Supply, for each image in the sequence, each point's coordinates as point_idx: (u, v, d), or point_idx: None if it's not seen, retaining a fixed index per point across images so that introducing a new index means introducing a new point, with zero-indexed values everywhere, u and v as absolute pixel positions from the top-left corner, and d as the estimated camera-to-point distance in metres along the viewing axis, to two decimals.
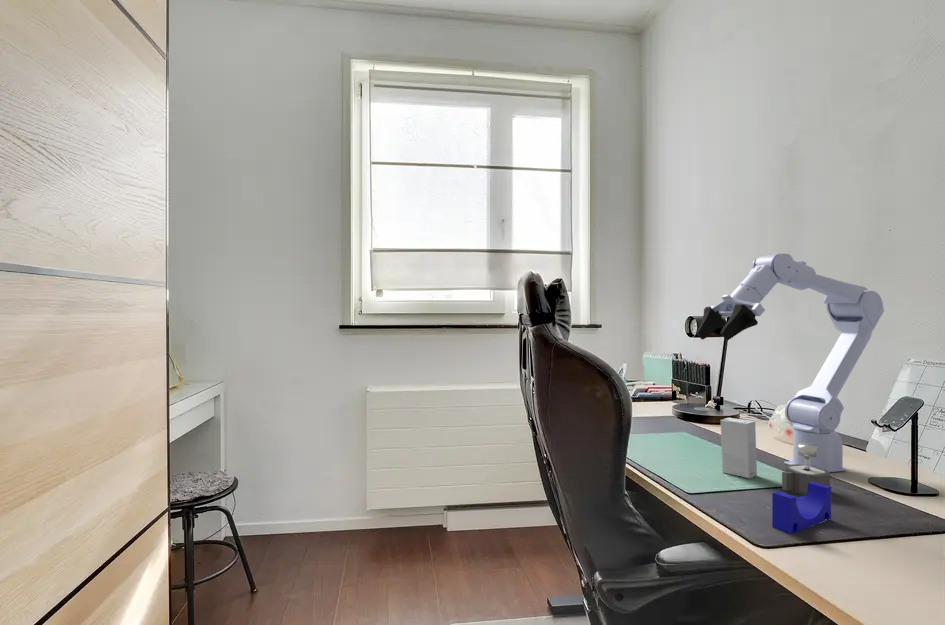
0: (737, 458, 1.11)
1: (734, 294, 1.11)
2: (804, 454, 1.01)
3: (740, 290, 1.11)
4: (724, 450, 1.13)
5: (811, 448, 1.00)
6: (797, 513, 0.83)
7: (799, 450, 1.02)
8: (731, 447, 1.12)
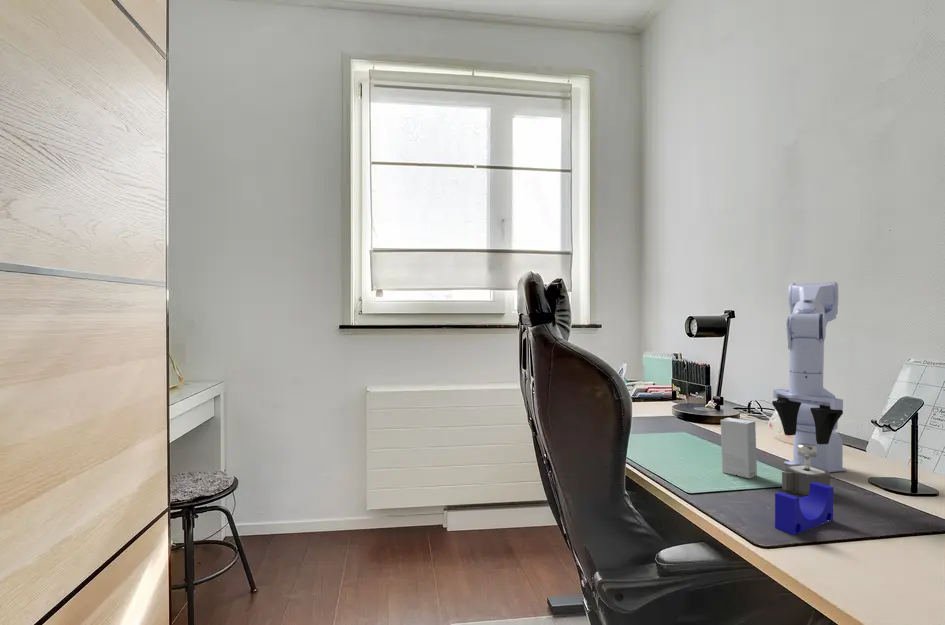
0: (737, 458, 1.11)
1: (796, 387, 1.01)
2: (804, 454, 1.01)
3: (799, 381, 1.01)
4: (724, 450, 1.13)
5: (811, 448, 1.00)
6: (800, 514, 0.82)
7: (799, 450, 1.02)
8: (731, 447, 1.12)
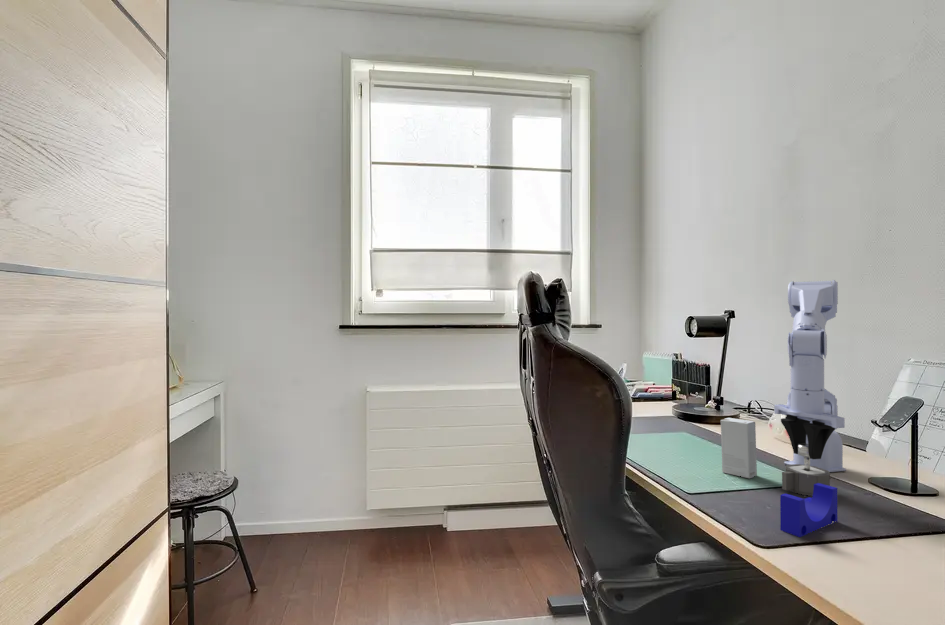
0: (737, 458, 1.11)
1: (797, 404, 1.01)
2: (804, 454, 1.01)
3: (800, 398, 1.00)
4: (724, 450, 1.13)
5: None
6: (805, 515, 0.82)
7: (799, 450, 1.02)
8: (731, 447, 1.12)
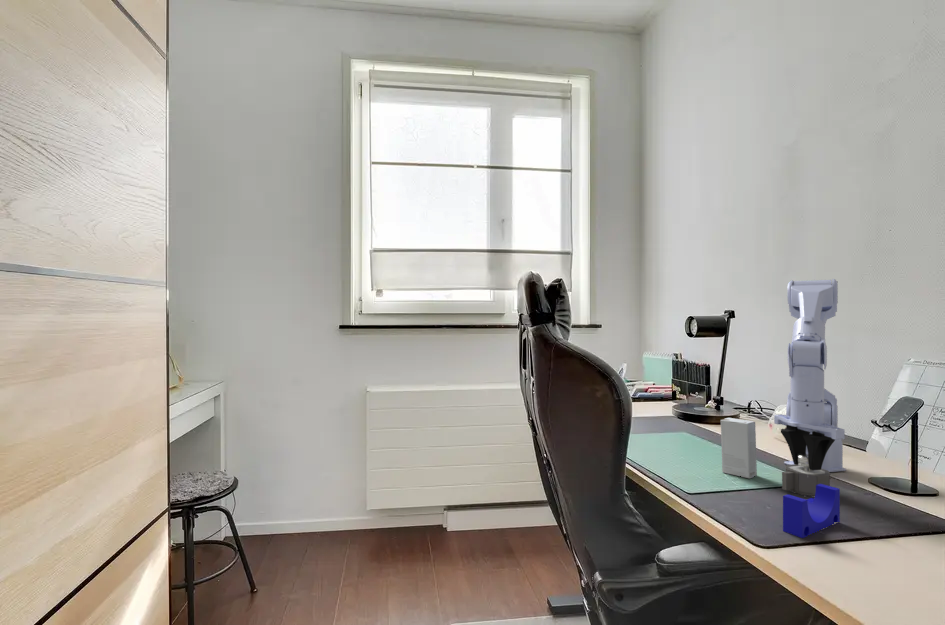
0: (737, 458, 1.11)
1: (797, 415, 1.01)
2: (804, 465, 1.01)
3: (800, 409, 1.00)
4: (724, 450, 1.13)
5: None
6: (808, 516, 0.81)
7: (799, 461, 1.02)
8: (731, 447, 1.12)
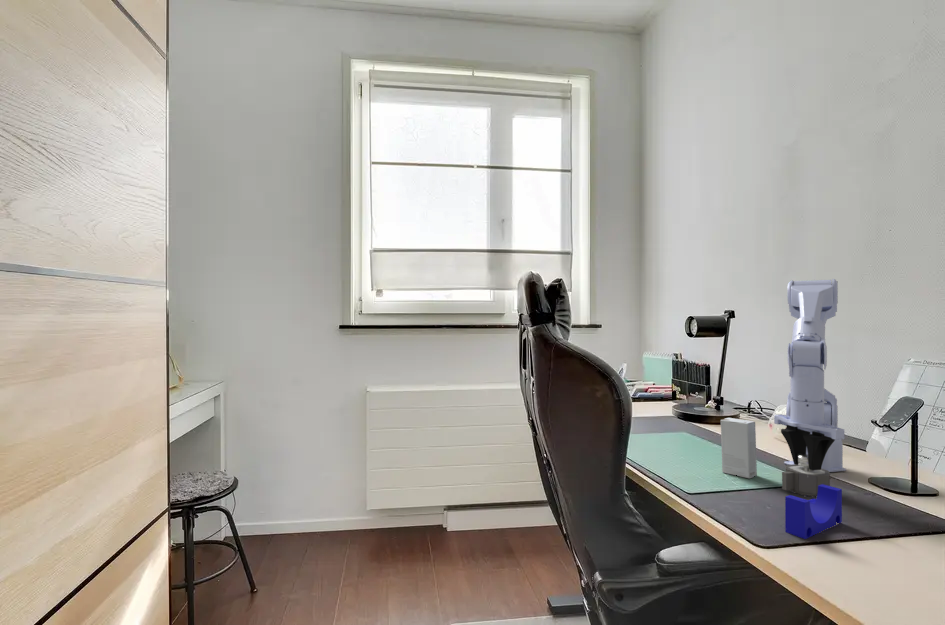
0: (737, 458, 1.11)
1: (797, 415, 1.01)
2: (804, 465, 1.01)
3: (800, 409, 1.00)
4: (724, 450, 1.13)
5: None
6: (811, 517, 0.81)
7: (799, 461, 1.02)
8: (731, 447, 1.12)
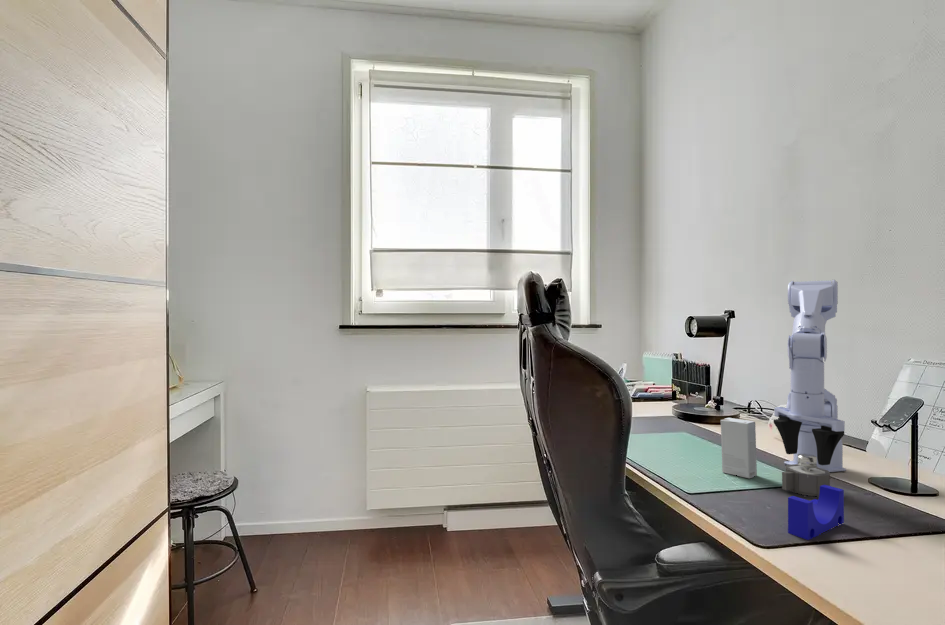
0: (737, 458, 1.11)
1: (797, 407, 1.01)
2: (804, 465, 1.01)
3: (800, 401, 1.00)
4: (724, 450, 1.13)
5: (811, 459, 1.00)
6: (814, 518, 0.81)
7: (799, 461, 1.02)
8: (731, 447, 1.12)
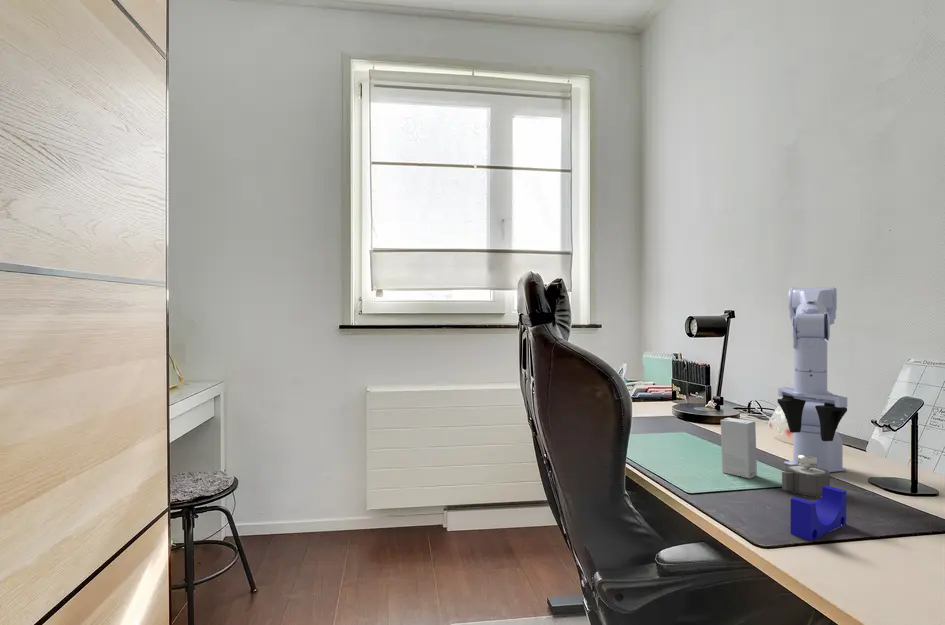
0: (737, 458, 1.11)
1: (801, 385, 1.03)
2: (804, 465, 1.01)
3: (804, 379, 1.03)
4: (724, 450, 1.13)
5: (811, 459, 1.00)
6: (816, 519, 0.80)
7: (799, 461, 1.02)
8: (731, 447, 1.12)
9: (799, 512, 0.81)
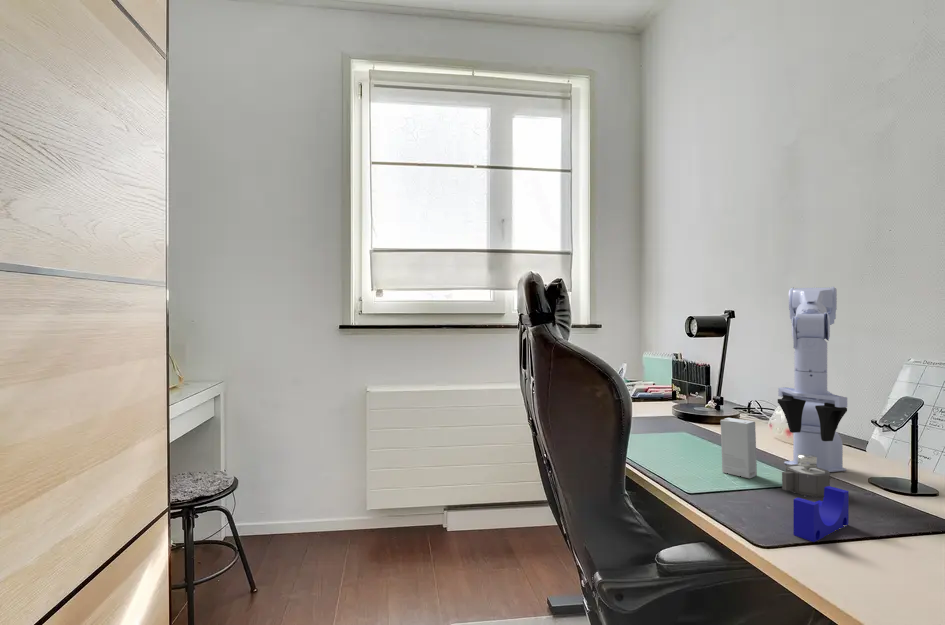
0: (737, 458, 1.11)
1: (801, 385, 1.03)
2: (804, 465, 1.01)
3: (804, 379, 1.03)
4: (724, 450, 1.13)
5: (811, 459, 1.00)
6: (819, 520, 0.80)
7: (799, 461, 1.02)
8: (731, 447, 1.12)
9: (802, 513, 0.80)
